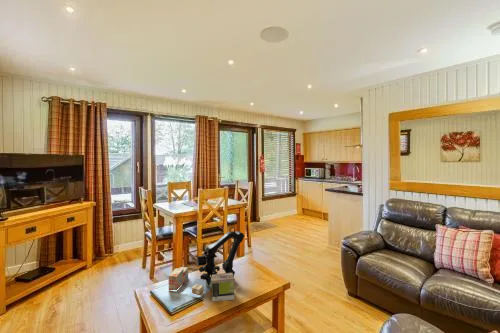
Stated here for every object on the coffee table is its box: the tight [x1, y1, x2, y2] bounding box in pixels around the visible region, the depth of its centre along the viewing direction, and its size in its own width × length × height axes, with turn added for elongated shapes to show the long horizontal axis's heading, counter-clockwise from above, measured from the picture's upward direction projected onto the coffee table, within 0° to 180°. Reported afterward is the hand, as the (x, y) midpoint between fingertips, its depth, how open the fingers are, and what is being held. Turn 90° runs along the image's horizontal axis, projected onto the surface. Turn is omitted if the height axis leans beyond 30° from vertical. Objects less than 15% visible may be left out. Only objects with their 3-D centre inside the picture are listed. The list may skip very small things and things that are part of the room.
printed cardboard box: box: [168, 266, 189, 291], centre depth 187 cm, size 21×6×12 cm, turn 172°
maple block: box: [192, 284, 204, 295], centre depth 174 cm, size 6×6×5 cm
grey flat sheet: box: [188, 278, 212, 298], centre depth 181 cm, size 18×23×1 cm
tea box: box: [211, 272, 235, 302], centre depth 170 cm, size 15×10×15 cm, turn 100°
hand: (210, 283), depth 186 cm, fingers closed on sage cube, 5 cm apart
